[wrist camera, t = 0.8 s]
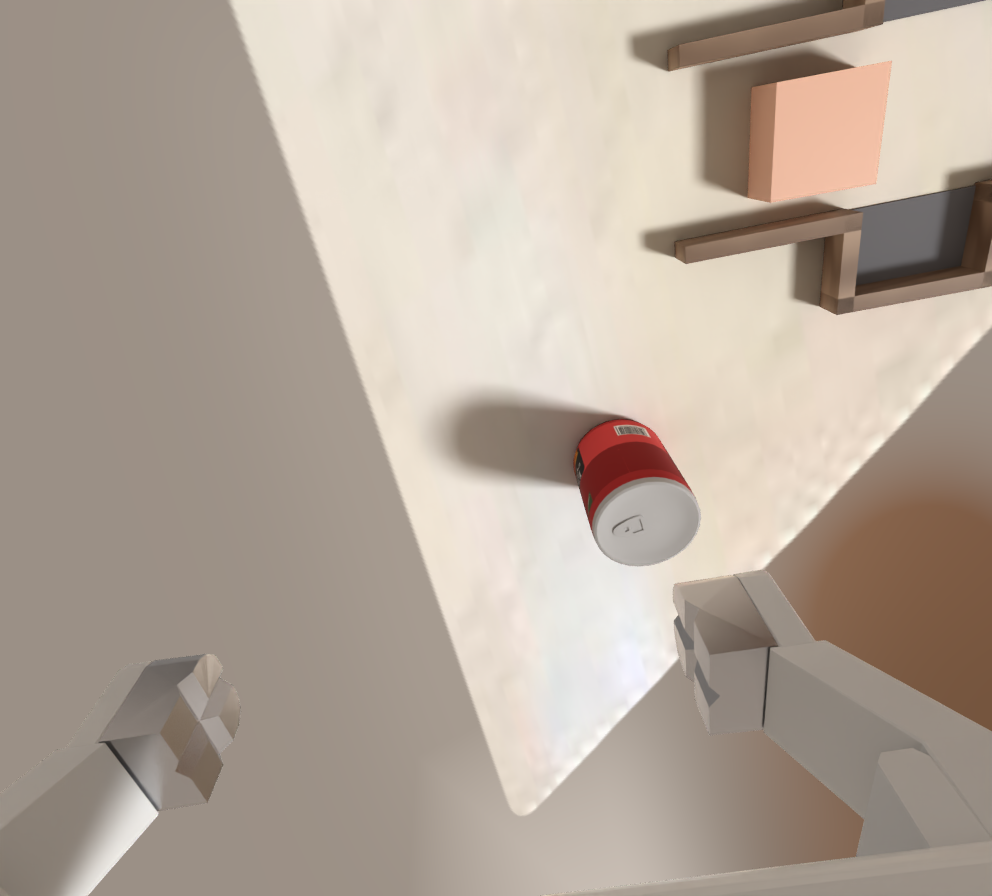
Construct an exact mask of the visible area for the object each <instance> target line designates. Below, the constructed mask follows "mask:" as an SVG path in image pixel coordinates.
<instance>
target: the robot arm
mask: <svg viewBox="0 0 992 896" xmlns="http://www.w3.org/2000/svg"><path fill="white" fill-rule="evenodd" d="M673 603H674V605H675V607H676V610H677V612H678V616H677V617H676V619H675V620H674V632H675V640H676V645H677V651H678V654H679V658H680V661H681V664H682V667H683V670H684V672H685V675H686V677H687V678H689V679H690V680H691V681H693V682H694V683H695V701H696V703H697V706H698V708H699V711H700V713H701V715H702V718H703V721H704V723H705V726H706V728H707V731H708V733H709V735H717V734H727V733H737V732H746V731H755V730H764V733H765V734H766V735H767V736H769V737H770V738H771V739H772V740H773V741H774V742H775V743H777V744H778V745H779V746H780V747H781V748H782V749H783V750H785V751H786V752H787V753H788V754H789V755H791V756H792V757H793V758H794V759H795V760H796V761H797V762H799V763H800V764H801V765H802V766H803V767H804V768H805V769H807V770H808V771H809V772H810V773H811V774H812V775H814V776H815V777H816V778H817V779H818V780H820V782H822V783H823V784H824V785H825V786H826V787H827V788H829V789H830V790H831V791H832V792H833V793H834V794H836V795H837V796H838V797H839V798H840V799H841V800H842V801H844V802H845V803H846V804H847V805H848V806H849V807H851V808H852V809H853V810H854V811H855V812H856V813H857V814H859V815H860V816H861V817H862V818H863V819H864V824H863V828H862V833H861V837H860V841H859V846H858V850H857V854H856V857H853V858H844V859H836V860H829V861H820V862H812V863H803V864H796V865H787V866H779V867H771V868H763V869H754V870H746V871H738V872H730V873H722V874H714V875H705V876H697V877H690V878H681V879H673V880H665V881H656V882H648V883H640V884H632V885H624V886H616V887H608V888H599V889H591V890H583V891H574V892H566V893H558V894H550V895H542V896H992V731H990V730H988V729H986V728H984V727H982V726H981V725H979V724H977V723H975V722H973V721H971V720H970V719H968V718H966V717H964V716H962V715H961V714H959V713H957V712H955V711H953V710H951V709H950V708H948V707H946V706H944V705H942V704H940V703H939V702H937V701H935V700H933V699H931V698H929V697H928V696H926V695H924V694H922V693H920V692H918V691H917V690H915V689H913V688H911V687H909V686H908V685H906V684H904V683H902V682H900V681H899V680H897V679H895V678H893V677H891V676H889V675H888V674H886V673H884V672H882V671H880V670H878V669H877V668H875V667H873V666H871V665H869V664H867V663H866V662H864V661H862V660H860V659H858V658H857V657H855V656H853V655H851V654H849V653H847V652H846V651H844V650H842V649H840V648H838V647H836V646H835V645H833V644H831V643H829V642H827V641H825V640H824V641H815V640H814V638H813V637H812V635H811V634H810V633H809V631H808V630H807V628H806V627H805V625H804V624H803V622H802V621H801V619H800V618H799V616H798V615H797V613H796V612H795V610H794V609H793V608H792V606H791V605H790V603H789V602H788V600H787V599H786V597H785V596H784V594H783V593H782V592H781V590H780V589H779V587H778V586H777V584H776V583H775V581H774V580H773V579H772V577H771V576H770V574H769V573H768V572H766V571H765V570H757V571H751V572H745V573H739V574H734V575H733V576H732V575H728V576H722V577H715V578H709V579H703V580H696V581H690V582H684V583H677V584H674V587H673ZM222 670H223V667H222V665H221V664H220V662H219V660H218V659H217V657H216V656H215V655H210V654H203V655H195V656H186V657H178V658H170V659H162V660H155V661H151V662H143V663H134V664H128V665H126V666H125V667H123V668H122V669H120V670H119V671H118V672H117V673H116V675H115V676H114V678H113V679H112V681H111V682H110V684H109V685H108V687H107V688H106V690H105V691H104V692H103V694H102V695H101V697H100V698H99V700H98V701H97V703H96V704H95V706H94V707H93V708H92V710H91V712H90V713H89V714H88V716H87V717H86V719H85V720H84V722H83V723H82V725H81V726H80V728H79V729H78V731H77V732H76V733H75V735H74V736H73V738H72V739H71V741H70V742H69V744H68V745H67V747H66V748H63V749H57V750H55V751H54V752H53V753H51V754H50V755H49V756H48V757H46V758H45V759H44V760H42V761H41V762H40V763H38V764H37V765H36V766H35V767H33V768H32V769H31V770H29V771H28V772H27V773H26V774H24V775H23V776H22V777H20V778H19V779H18V780H16V781H15V782H14V783H13V784H11V785H10V786H9V787H8V788H6V789H5V790H4V791H2V792H1V793H0V896H88V895H89V894H90V892H91V891H92V890H93V889H94V888H95V887H96V885H97V884H98V883H99V882H100V881H101V879H103V877H104V876H105V875H106V874H107V873H108V872H109V871H110V869H111V868H112V867H113V866H114V865H115V864H116V863H117V861H118V860H119V859H120V858H121V857H122V856H123V855H124V853H125V852H126V851H127V850H128V849H129V848H130V847H131V845H132V844H133V843H134V842H135V841H136V840H137V839H138V837H139V836H140V835H141V834H142V833H143V832H144V831H145V829H146V828H147V827H148V826H149V825H150V824H151V822H152V821H153V820H154V819H155V818H156V817H157V816H158V815H159V813H158V811H162V810H168V809H173V808H174V809H175V808H180V807H187V806H193V805H199V804H205V803H208V801H209V798H210V796H211V794H212V791H213V789H214V786H215V784H216V782H217V779H218V777H219V774H220V772H221V769H222V767H223V762H222V759H221V756H220V753H221V752H222V751H223V750H224V749H225V748H226V747H227V746H228V745H229V744H230V743H231V742H232V741H233V740H234V737H235V734H236V732H237V729H238V726H239V721H240V709H241V706H240V702H239V697H238V694H237V692H236V690H235V688H234V686H233V685H232V684H230V683H228V682H226V681H225V680H223V679H221V678H220V676H221V672H222Z"/></svg>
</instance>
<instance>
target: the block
mask: <svg viewBox="0 0 992 896" xmlns="http://www.w3.org/2000/svg"><path fill="white" fill-rule="evenodd" d="M891 64H892V61H888V62H882V63H877V64H872V65H866V66H861V67H856V68H850V69H845V70H840V71H835V72H829V73H824V74H819V75H813V76H808V77H803V78H797V79H792V80H787V81H781V82H776V83H771V84H766V85H761V86H756V87H752V88H751V117H750V145H749V174H748V198H751V199H756V200H761V201H765V202H770V203H771V202H777V201H782V200H788V199H794V198H799V197H805V196H811V195H816V194H822V193H827V192H833V191H839V190H844V189H850V188H856V187H861V186H867V185H872V184H876V181H877V173H878V165H879V157H880V150H881V142H882V134H883V126H884V119H885V111H886V103H887V95H888V87H889V80H890V72H891Z"/></svg>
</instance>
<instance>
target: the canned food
mask: <svg viewBox="0 0 992 896" xmlns="http://www.w3.org/2000/svg"><path fill="white" fill-rule="evenodd" d="M574 471H575V475H576V479H577V482H578V486H579V489H580V493H581V496H582V500H583V503H584V507H585V510H586V514H587V517H588V520H589V524H590V527H591V530H592V533H593V536H594V539H595V541H596V543H597V545H598V547H599V549H600V550H601V551H602V552H603V553H604V554H605V555H606V556H607V557H609V558H610V559H611V560H614V561H616V562H618V563H621V564H625V565H628V566H649V565H653V564H658V563H661V562H663V561H666V560H669V559H670V558H672V557H674V556H676V555H677V554H679V553H680V552H681V551H683V550H684V549H685V548H686V547H687V546H688V545H689V544H690V543H691V542H692V540H693V539H694V537H695V536H696V534H697V532H698V529H699V526H700V520H701V514H700V508H699V506H698V503H697V500H696V498H695V496H694V494H693V493H692V491H691V489H690V487H689V486H688V484H687V483H686V481H685V479H684V478H683V476H682V475H681V473H680V471H679V470H678V468H677V467H676V465H675V463H674V462H673V460H672V459H671V457H670V455H669V454H668V452H667V451H666V449H665V447H664V446H663V444H662V443H661V441H660V439H659V438H658V437H657V435H656V434H655V433H654V432H653V431H652V430H651V429H650V428H648V427H646V426H645V425H643V424H641V423H638V422H635V421H632V420H624V419H620V420H612V421H608V422H605V423H602V424H600V425H598V426H596V427H595V428H593V429H591V430H590V431H589V432H588V433H587V434H586V435H585V436H584V437H583V438H582V440H581V441H580V443H579V445H578V447H577V449H576V452H575V456H574Z"/></svg>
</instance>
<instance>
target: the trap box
mask: <svg viewBox="0 0 992 896" xmlns="http://www.w3.org/2000/svg"><path fill="white" fill-rule="evenodd" d="M980 1H984V0H843V9H842V10H838V11H833V12H828V13H824V14H819V15H814V16H810V17H805V18H800V19H796V20H791V21H787V22H782V23H777V24H773V25H768V26H763V27H759V28H754V29H749V30H745V31H740V32H736V33H731V34H726V35H722V36H717V37H712V38H708V39H703V40H698V41H694V42H689V43H684V44H680V45H677V46H675V47H673V48H671V49H669V50H667V51H668V71H673V70H678V69H682V68H687V67H692V66H696V65H701V64H706V63H711V62H715V61H720V60H725V59H729V58H734V57H739V56H743V55H748V54H753V53H757V52H762V51H767V50H772V49H776V48H781V47H786V46H790V45H795V44H800V43H804V42H809V41H814V40H818V39H823V38H828V37H833V36H837V35H842V34H847V33H851V32H856V31H860V30H864V29H867V28H871V27H874V26H878V25H881V24H883V22H886V21H891V20H895V19H900V18H905V17H909V16H914V15H919V14H923V13H928V12H933V11H938V10H942V9H947V8H952V7H956V6H961V5H966V4H970V3H975V2H980ZM822 237H825V244H824V257H823V270H822V283H821V296H820V307H821V308H823V309H826V310H828V311H830V312H832V313H834V314H836V315H839V314H844V313H850V312H855V311H861V310H866V309H871V308H877V307H882V306H888V305H893V304H898V303H904V302H909V301H915V300H920V299H925V298H931V297H936V296H942V295H947V294H952V293H958V292H963V291H968V290H974V289H979V288H985V287H990V286H992V180H987V181H982V182H977V183H975V186H971V187H965V188H960V189H955V190H950V191H945V192H940V193H935V194H930V195H925V196H919V197H914V198H909V199H904V200H899V201H894V202H889V203H884V204H878V205H873V206H868V207H863V208H858V209H853V210H849V209H839V210H834V211H828V212H823V213H818V214H813V215H808V216H803V217H798V218H793V219H788V220H782V221H777V222H772V223H767V224H762V225H757V226H752V227H747V228H742V229H736V230H731V231H726V232H721V233H716V234H711V235H706V236H701V237H696V238H691V239H685V240H680V241H675V258H677V259H678V260H680V261H682V262H684V263H685V264H688V263H693V262H698V261H703V260H708V259H714V258H719V257H724V256H729V255H734V254H740V253H745V252H750V251H755V250H760V249H765V248H771V247H776V246H781V245H786V244H791V243H796V242H802V241H807V240H812V239H817V238H822Z"/></svg>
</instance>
